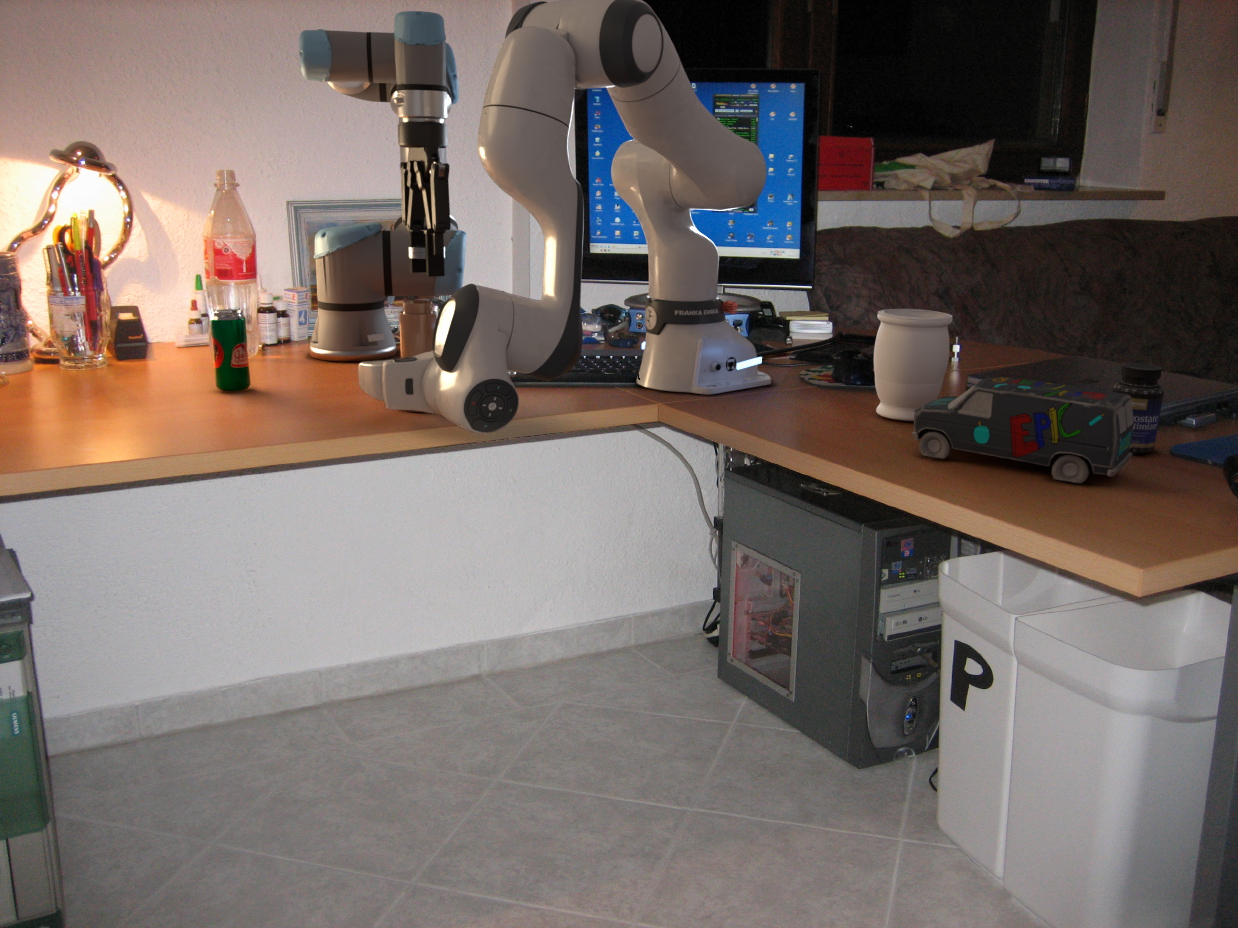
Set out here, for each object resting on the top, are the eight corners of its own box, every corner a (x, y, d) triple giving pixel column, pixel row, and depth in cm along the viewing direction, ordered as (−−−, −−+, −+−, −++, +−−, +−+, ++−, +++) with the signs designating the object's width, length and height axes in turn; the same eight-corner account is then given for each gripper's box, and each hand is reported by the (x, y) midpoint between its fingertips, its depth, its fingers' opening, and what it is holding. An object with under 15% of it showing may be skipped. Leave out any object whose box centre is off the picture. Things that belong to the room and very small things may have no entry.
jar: (854, 409, 159) (862, 309, 155) (910, 404, 163) (920, 306, 159) (898, 426, 150) (909, 320, 146) (957, 420, 154) (969, 317, 150)
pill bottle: (1117, 454, 138) (1130, 370, 135) (1094, 442, 144) (1106, 361, 140) (1163, 454, 138) (1177, 370, 135) (1139, 442, 144) (1152, 361, 141)
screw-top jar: (447, 407, 156) (444, 301, 152) (421, 414, 152) (417, 305, 148) (420, 402, 159) (417, 298, 155) (395, 408, 155) (390, 302, 151)
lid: (400, 257, 169) (400, 246, 168) (428, 255, 173) (428, 244, 172) (424, 259, 165) (424, 248, 165) (452, 257, 169) (452, 246, 169)
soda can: (239, 393, 162) (233, 314, 158) (209, 391, 163) (202, 312, 159) (257, 386, 167) (251, 309, 163) (227, 384, 168) (221, 308, 164)
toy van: (934, 436, 145) (942, 364, 142) (1131, 470, 131) (1144, 390, 128) (905, 453, 136) (913, 376, 134) (1112, 490, 123) (1125, 406, 120)
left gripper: (376, 121, 169) (382, 269, 175) (424, 119, 154) (429, 281, 160) (420, 123, 173) (425, 267, 179) (471, 121, 158) (474, 279, 164)
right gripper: (520, 352, 147) (484, 337, 158) (373, 363, 137) (346, 346, 149) (521, 397, 148) (485, 378, 160) (376, 411, 139) (349, 390, 151)
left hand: (427, 274), depth 170 cm, fingers closed on lid, 6 cm apart
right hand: (417, 363), depth 155 cm, fingers closed on screw-top jar, 5 cm apart
